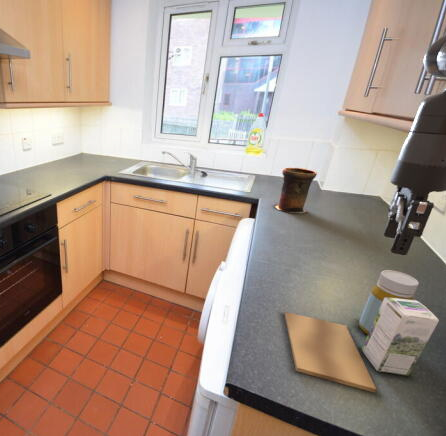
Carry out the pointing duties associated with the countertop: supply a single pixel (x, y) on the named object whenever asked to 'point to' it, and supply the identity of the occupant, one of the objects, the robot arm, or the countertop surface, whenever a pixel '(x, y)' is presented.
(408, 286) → the bottle
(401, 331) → the syrup box
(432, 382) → the countertop surface
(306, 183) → the vessel
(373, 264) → the countertop surface
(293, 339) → the oak board
